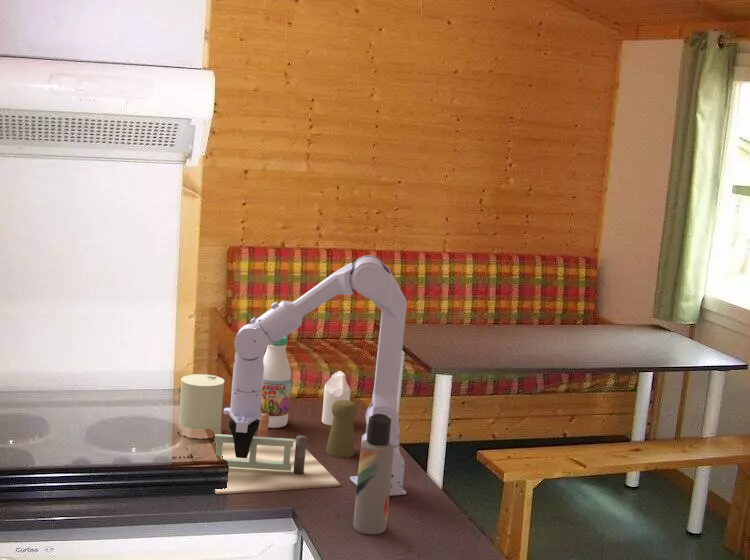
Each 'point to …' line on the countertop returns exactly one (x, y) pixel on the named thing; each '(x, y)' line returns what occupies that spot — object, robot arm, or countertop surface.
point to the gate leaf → (253, 447)
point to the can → (201, 402)
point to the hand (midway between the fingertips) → (241, 457)
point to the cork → (342, 429)
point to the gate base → (255, 480)
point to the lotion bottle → (374, 477)
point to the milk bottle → (276, 384)
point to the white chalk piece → (334, 395)
